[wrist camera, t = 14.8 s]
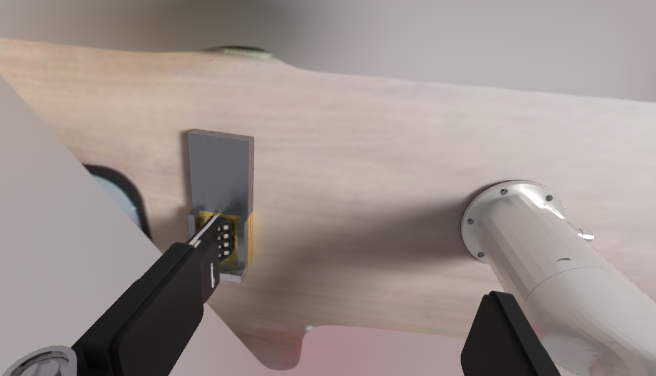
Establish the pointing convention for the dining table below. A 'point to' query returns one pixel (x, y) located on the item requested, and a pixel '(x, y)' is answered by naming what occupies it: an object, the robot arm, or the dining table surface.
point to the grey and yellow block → (223, 192)
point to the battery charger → (212, 250)
